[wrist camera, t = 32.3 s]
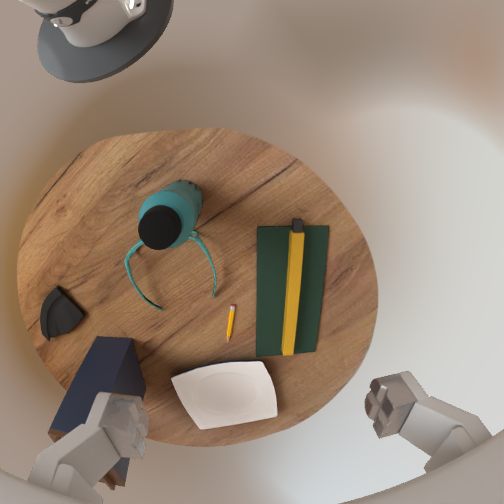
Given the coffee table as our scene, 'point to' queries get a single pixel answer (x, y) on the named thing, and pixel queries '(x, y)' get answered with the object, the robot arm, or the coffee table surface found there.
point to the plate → (227, 393)
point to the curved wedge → (59, 314)
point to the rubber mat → (274, 288)
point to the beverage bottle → (170, 215)
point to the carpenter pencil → (293, 286)
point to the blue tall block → (100, 380)
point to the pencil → (230, 321)
